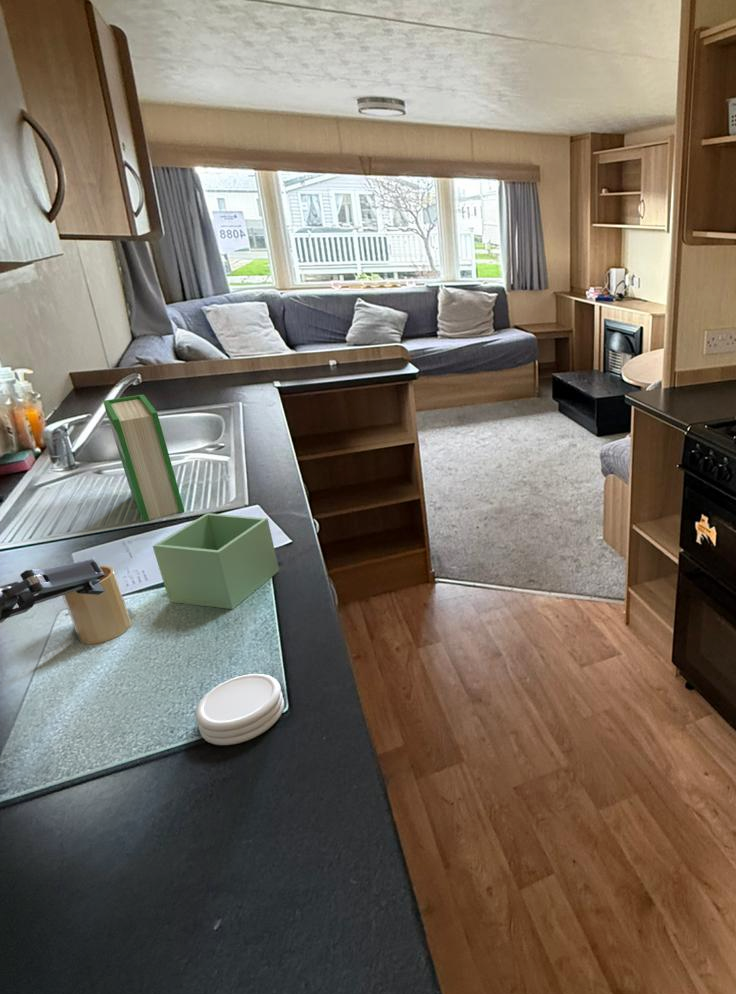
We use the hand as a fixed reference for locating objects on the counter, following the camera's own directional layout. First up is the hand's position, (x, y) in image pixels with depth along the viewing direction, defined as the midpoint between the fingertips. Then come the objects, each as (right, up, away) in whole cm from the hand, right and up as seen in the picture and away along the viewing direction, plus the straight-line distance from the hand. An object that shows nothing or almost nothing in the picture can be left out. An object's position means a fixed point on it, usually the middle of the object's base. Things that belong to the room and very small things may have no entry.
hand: (40, 614), depth 84 cm
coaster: (+25, -15, +3) cm, 29 cm away
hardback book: (-26, +9, +61) cm, 67 cm away
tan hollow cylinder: (-7, -7, +20) cm, 23 cm away
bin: (+6, -2, +32) cm, 33 cm away
